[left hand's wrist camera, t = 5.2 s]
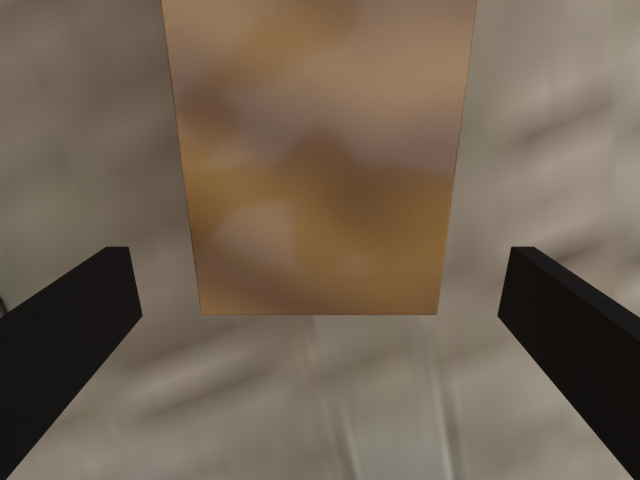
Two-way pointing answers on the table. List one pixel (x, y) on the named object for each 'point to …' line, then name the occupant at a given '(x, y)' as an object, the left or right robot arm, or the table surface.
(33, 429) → the left robot arm
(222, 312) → the tan rectangular mottled block
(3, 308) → the right robot arm
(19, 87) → the table surface
